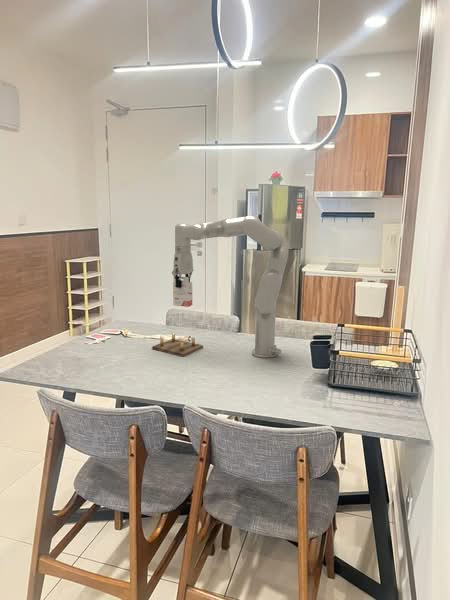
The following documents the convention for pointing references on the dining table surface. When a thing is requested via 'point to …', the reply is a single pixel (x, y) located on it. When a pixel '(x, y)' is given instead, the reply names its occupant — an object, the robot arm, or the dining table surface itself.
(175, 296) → the ink cartridge box
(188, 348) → the walnut plate
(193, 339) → the brass pins
